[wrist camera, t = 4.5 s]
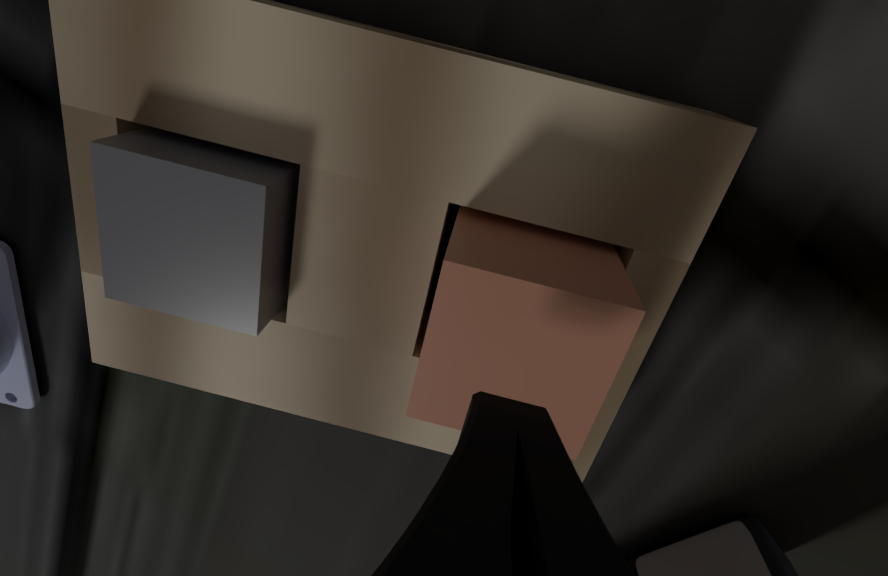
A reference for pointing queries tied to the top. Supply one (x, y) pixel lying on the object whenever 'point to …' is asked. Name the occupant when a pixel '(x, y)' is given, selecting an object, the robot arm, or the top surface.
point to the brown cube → (525, 324)
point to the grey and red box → (718, 554)
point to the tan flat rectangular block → (375, 188)
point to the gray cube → (194, 227)
